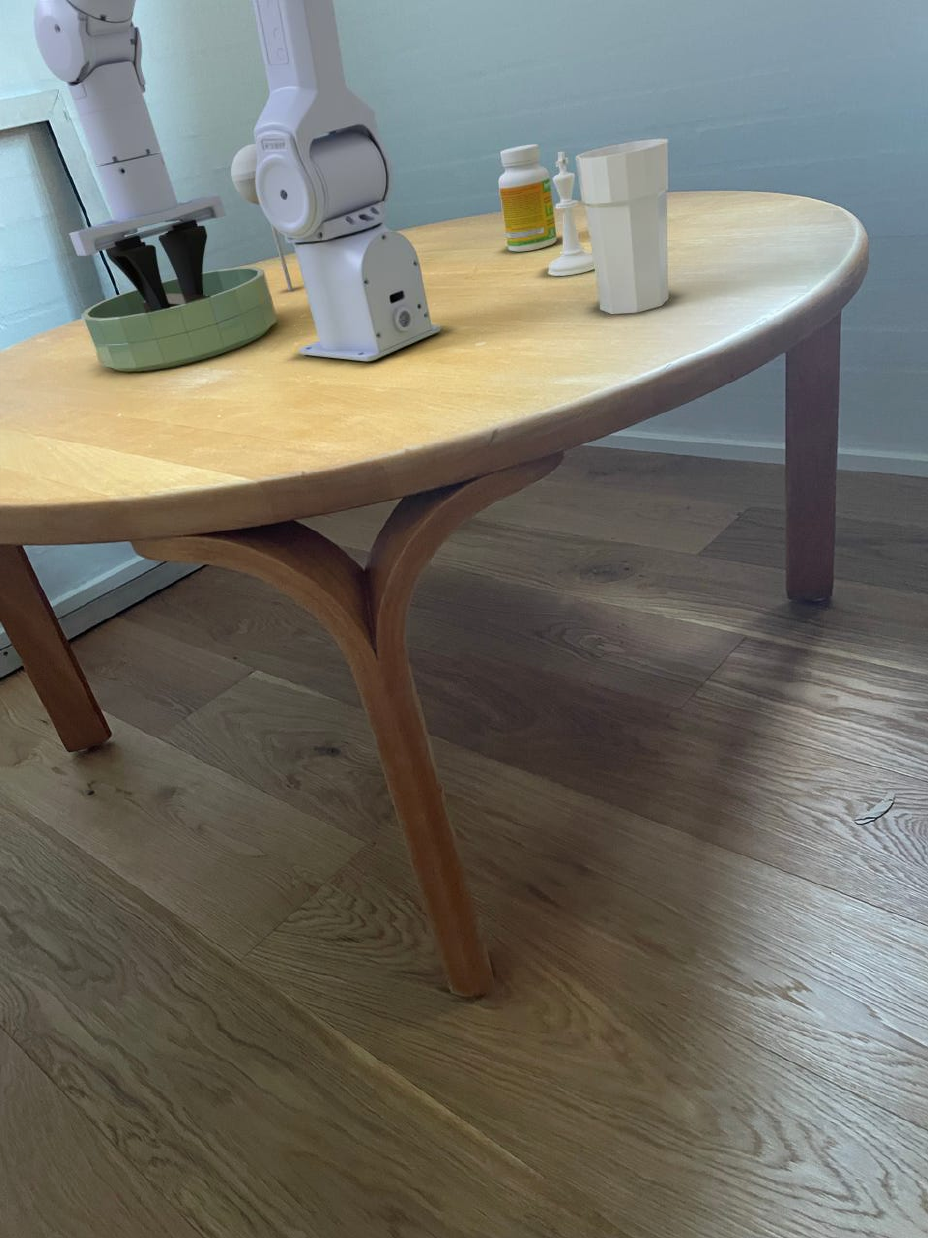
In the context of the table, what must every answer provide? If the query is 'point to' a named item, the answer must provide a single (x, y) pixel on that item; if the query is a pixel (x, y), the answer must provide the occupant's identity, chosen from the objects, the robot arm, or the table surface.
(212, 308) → the bowl
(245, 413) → the table surface
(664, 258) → the cup
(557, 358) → the table surface
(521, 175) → the supplement bottle
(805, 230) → the table surface
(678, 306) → the table surface
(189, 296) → the block
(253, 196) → the lollipop
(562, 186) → the chess piece
